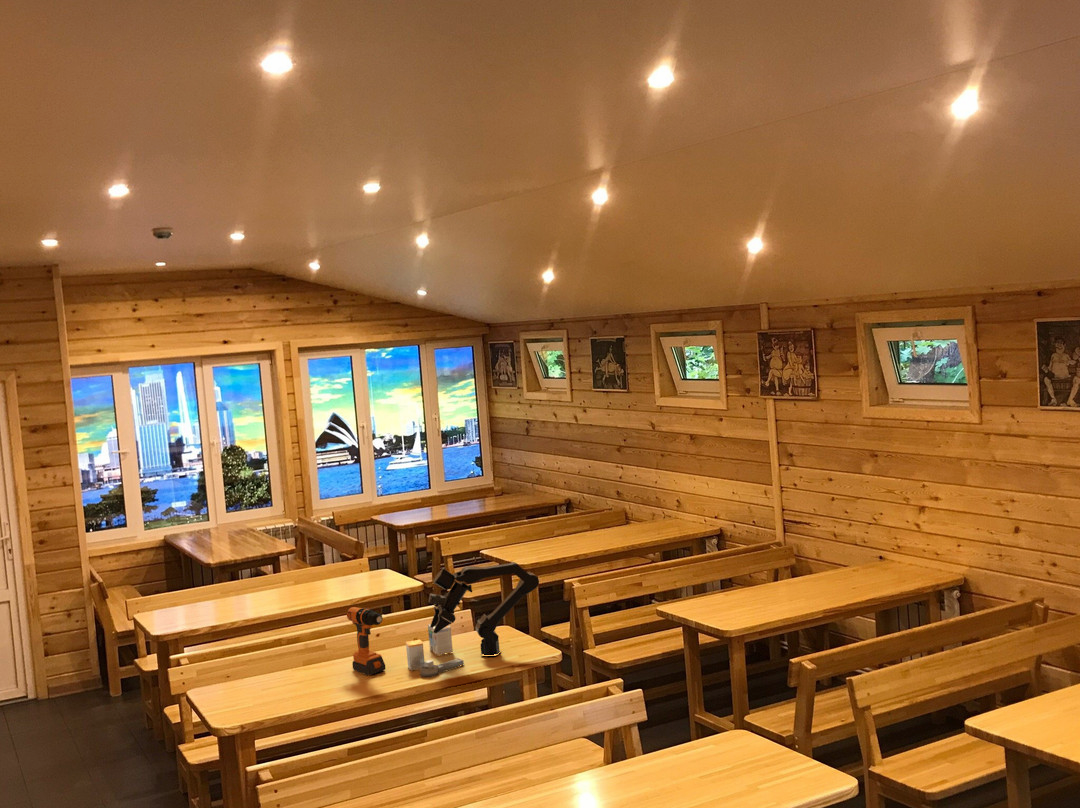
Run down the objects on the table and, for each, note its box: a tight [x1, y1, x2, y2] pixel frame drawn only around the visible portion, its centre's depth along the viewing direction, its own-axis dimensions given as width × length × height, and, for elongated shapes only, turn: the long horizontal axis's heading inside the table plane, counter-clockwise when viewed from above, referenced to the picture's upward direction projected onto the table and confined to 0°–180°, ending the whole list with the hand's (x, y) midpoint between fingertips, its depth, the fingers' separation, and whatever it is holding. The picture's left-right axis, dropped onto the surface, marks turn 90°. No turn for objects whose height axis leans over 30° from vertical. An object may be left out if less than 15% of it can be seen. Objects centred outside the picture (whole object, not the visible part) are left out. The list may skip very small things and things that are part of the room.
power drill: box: [346, 606, 386, 676], centre depth 397 cm, size 22×7×25 cm, turn 41°
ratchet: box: [419, 658, 465, 678], centre depth 391 cm, size 18×7×5 cm, turn 130°
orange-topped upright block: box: [405, 639, 426, 672], centre depth 397 cm, size 6×6×10 cm
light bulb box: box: [427, 623, 454, 656], centre depth 417 cm, size 11×7×11 cm, turn 25°
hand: (432, 629), depth 401 cm, fingers open, 9 cm apart
